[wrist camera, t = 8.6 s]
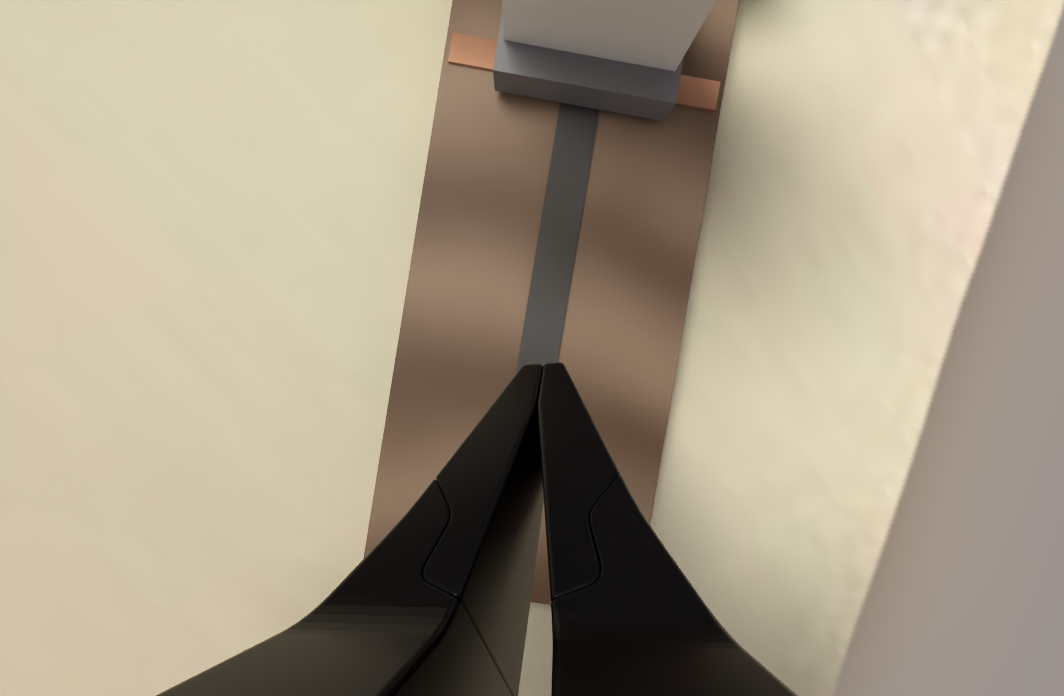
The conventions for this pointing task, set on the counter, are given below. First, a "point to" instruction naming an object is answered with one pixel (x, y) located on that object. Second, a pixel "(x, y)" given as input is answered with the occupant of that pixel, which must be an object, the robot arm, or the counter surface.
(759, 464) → the counter surface
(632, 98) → the fader tab
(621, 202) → the slider base
